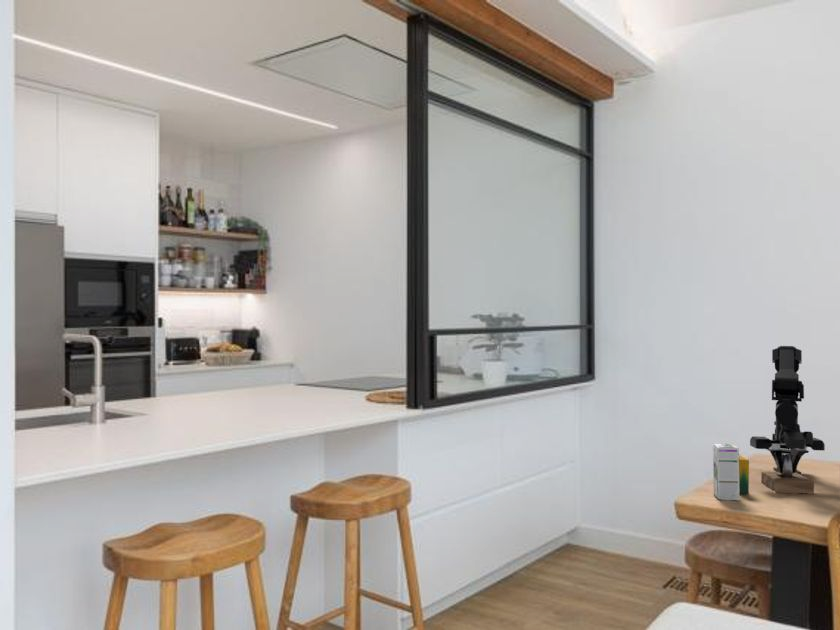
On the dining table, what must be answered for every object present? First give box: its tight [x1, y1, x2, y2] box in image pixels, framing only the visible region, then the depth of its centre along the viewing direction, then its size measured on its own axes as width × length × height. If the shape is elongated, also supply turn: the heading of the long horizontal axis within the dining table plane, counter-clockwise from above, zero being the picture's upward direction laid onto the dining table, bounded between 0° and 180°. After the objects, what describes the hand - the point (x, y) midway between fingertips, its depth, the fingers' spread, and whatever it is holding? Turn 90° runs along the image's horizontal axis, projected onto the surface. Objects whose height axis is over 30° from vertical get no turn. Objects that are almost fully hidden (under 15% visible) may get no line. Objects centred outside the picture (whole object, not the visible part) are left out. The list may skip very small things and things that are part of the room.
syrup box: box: [712, 443, 740, 502], centre depth 192 cm, size 6×6×14 cm
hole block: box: [760, 470, 815, 495], centre depth 203 cm, size 12×10×4 cm
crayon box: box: [739, 454, 750, 495], centre depth 199 cm, size 7×3×12 cm, turn 173°
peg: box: [781, 453, 793, 478], centre depth 203 cm, size 3×3×8 cm
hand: (786, 472), depth 203 cm, fingers closed on peg, 3 cm apart
